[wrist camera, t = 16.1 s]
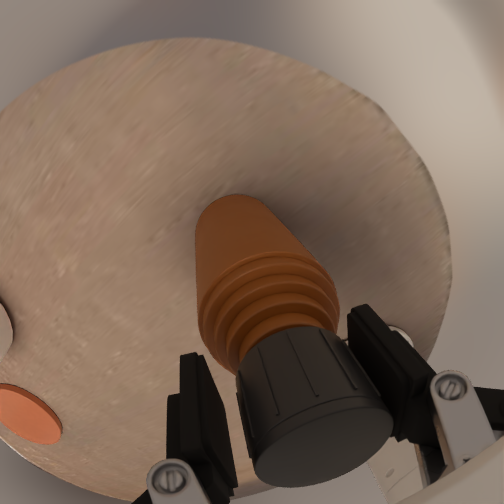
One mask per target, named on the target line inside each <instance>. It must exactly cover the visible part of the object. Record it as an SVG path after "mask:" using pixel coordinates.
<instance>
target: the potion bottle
mask: <svg viewBox="0 0 504 504" xmlns="http://www.w3.org/2000/svg"><path fill="white" fill-rule="evenodd" d="M12 341H13V330H12V326H11V322H10V319H9V317H8V315H7V313H6V311H5V309H4V307H3V306H2V305H1V303H0V363H1V361H2V360H3V358H4V356H5V355H6V353H7V352H8V350H9V348H10V346H11V344H12Z"/></svg>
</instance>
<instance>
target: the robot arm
mask: <svg viewBox="0 0 504 504" xmlns="http://www.w3.org/2000/svg"><path fill="white" fill-rule="evenodd" d="M347 328H348V340H347V341H346V344H347V345H348V347H349V348H350V350H351V351H352V353H353V354H354V356H355V357H356V359H357V360H358V362H359V363H360V364H361V366H362V367H363V369H364V370H365V372H366V373H367V375H368V376H369V378H370V379H371V381H372V382H373V384H374V385H375V387H376V388H377V390H378V391H379V393H380V394H381V397H380V398H381V399H382V401H383V402H384V404H385V405H386V407H387V408H388V410H389V411H390V413H391V414H392V417H393V421H394V425H393V430H392V433H391V435H390V437H389V438H388V440H387V441H386V443H385V444H384V445H383V446H382V448H381V449H380V450H379V451H378V452H377V453H376V454H375V455H373V456H372V457H371V458H370V459H368V460H367V461H366V462H367V464H368V466H369V468H370V470H371V471H372V473H373V475H374V477H375V479H376V481H377V483H378V485H379V487H380V489H381V491H382V493H383V495H384V497H385V499H386V501H387V502H388V504H504V390H500V389H490V388H481V387H473V385H472V383H471V381H470V380H469V379H468V377H467V376H466V375H464V374H463V373H461V372H458V371H454V370H448V371H443V372H441V373H438V374H436V372H435V371H434V370H433V369H432V368H431V367H430V366H429V365H428V364H427V362H426V361H425V360H424V359H423V358H422V357H421V356H420V355H419V353H418V352H417V351H416V350H415V349H414V346H413V342H412V340H411V339H410V337H409V336H408V335H407V334H406V333H405V332H404V331H402V330H401V329H399V328H396V327H393V326H387V325H386V324H385V322H384V321H383V320H382V319H381V318H380V317H379V316H378V315H377V314H376V313H375V312H374V311H373V309H372V308H371V307H370V306H369V305H368V304H363V305H360V306H357V307H354V308H352V309H351V313H349V314H347ZM146 482H147V487H148V489H147V490H146V491H145V492H144V493H143V494H142V495H141V496H140V497H138V498H137V499H136V500H135V501H134V502H133V503H132V504H229V503H230V498H229V497H230V496H234V491H233V488H237V487H238V482H237V476H236V471H235V465H234V460H233V454H232V448H231V443H230V437H229V431H228V424H227V418H226V412H225V408H224V404H223V402H222V399H221V397H220V395H219V392H218V390H217V387H216V385H215V383H214V380H213V378H212V375H211V373H210V370H209V368H208V365H207V363H206V360H205V358H204V356H203V355H199V356H198V355H197V353H196V352H193V353H189V354H184V355H181V356H180V393H178V394H173V395H169V396H168V399H167V436H166V459H165V460H162V461H160V462H158V463H156V464H155V465H154V466H153V467H152V468H151V469H150V471H149V472H148V474H147V478H146Z"/></svg>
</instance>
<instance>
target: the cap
mask: <svg viewBox="0 0 504 504" xmlns="http://www.w3.org/2000/svg"><path fill="white" fill-rule="evenodd" d="M236 387H237V393H236V396H237V401H238V406H239V411H240V416H241V420H242V425H243V430H244V435H245V440H246V444H247V449H248V454H249V458H252V463H253V467H254V471H255V474H256V475H257V477H258V478H259V479H260V480H261V481H263V482H265V483H266V484H269V485H272V486H277V487H287V488H288V487H290V488H292V487H304V486H310V485H315V484H318V483H323V482H326V481H329V480H332V479H334V478H337V477H339V476H341V475H344V474H346V473H348V472H350V471H352V470H353V469H355V468H357V467H358V466H360V465H361V464H363V463H364V462H366V461H367V460H368V459H370V458H371V457H372V456H373V455H375V454H376V453H377V452H378V451H379V450H380V449H381V448H382V446H383V445H384V444H385V443H386V441H387V440H388V438H389V437H390V435H391V433H392V430H393V425H394V421H393V417H392V414H391V413H390V411H389V410H388V408H387V407H386V405H385V404H384V402H383V401H382V399H381V398H380V397H381V394H380V393H379V391H378V390H377V388H376V387H375V385H374V384H373V382H372V381H371V379H370V378H369V376H368V375H367V373H366V372H365V370H364V369H363V367H362V366H361V364H360V363H359V362H358V360H357V359H356V357H355V356H354V354H353V353H352V351H351V350H350V348H349V347H348V345H347V344H346V342H345V341H344V340H341V338H340V337H339V336H337V335H336V334H335V333H333V332H331V331H329V330H326V329H324V328H319V327H312V326H302V327H294V328H290V329H286V330H283V331H280V332H277V333H275V334H273V335H270V336H269V337H267V338H265V339H263V340H262V341H261V342H259V343H258V344H256V345H255V346H254V347H253V348H252V349H251V350H250V351H249V352H248V353H247V354H246V355H245V357H244V358H243V359H242V361H241V363H240V365H239V367H238V370H237V373H236Z"/></svg>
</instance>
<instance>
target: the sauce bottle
mask: <svg viewBox="0 0 504 504" xmlns="http://www.w3.org/2000/svg"><path fill="white" fill-rule="evenodd" d="M195 247H196V287H197V313H198V326H199V332H200V335H201V338H202V340H203V342H204V344H205V346H206V347H207V348H208V350H209V352H210V354H211V355H212V356H213V358H214V359H215V360H216V361H217V362H218V363H219V364H220V365H221V366H222V367H224V368H225V369H227V370H228V371H230V372H231V373H232V374H234V375H235V376H236V373H237V370H238V367H239V365H240V363H241V361H242V359H243V358H244V357H245V355H246V354H247V353H248V352H249V351H250V350H251V349H252V348H253V347H254V346H255V345H256V344H258V343H259V342H261V341H262V340H263V339H265V338H267V337H269V336H270V335H273V334H275V333H277V332H280V331H283V330H286V329H290V328H294V327H302V326H312V327H319V328H324V329H326V330H329V331H331V332H333V333H335V334H337V328H338V323H339V316H340V306H339V301H338V297H337V292H336V288H335V286H334V283H333V281H332V279H331V277H330V275H329V274H328V273H327V272H326V270H325V269H324V268H323V267H322V266H321V265H320V264H319V262H318V261H317V260H316V259H315V258H314V257H313V256H312V255H311V254H310V253H309V252H308V250H307V249H306V248H305V247H304V246H303V245H302V244H301V243H300V242H299V241H298V240H297V239H296V237H295V236H294V235H293V234H292V233H291V232H290V231H289V230H288V229H287V228H286V227H285V226H284V225H283V224H282V223H281V221H280V220H279V219H278V218H277V217H276V216H275V215H274V214H273V213H272V212H271V211H270V210H269V209H268V208H267V207H266V206H265V205H264V204H263V203H262V202H260V201H259V200H257V199H255V198H253V197H250V196H246V195H229V196H225V197H222V198H220V199H218V200H216V201H214V202H213V203H211V204H210V205H209V206H208V207H207V208H206V209H205V210H204V211H203V213H202V214H201V216H200V218H199V220H198V223H197V226H196V233H195Z"/></svg>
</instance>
